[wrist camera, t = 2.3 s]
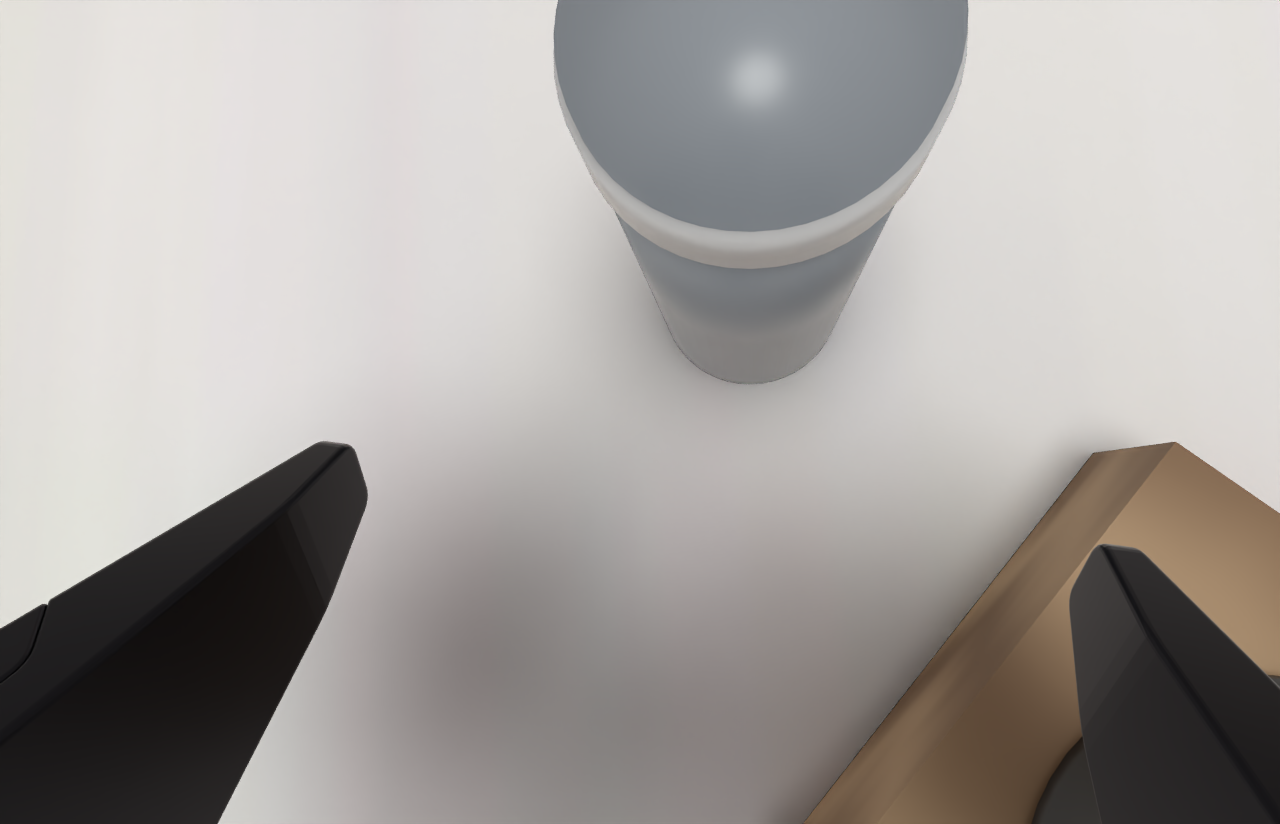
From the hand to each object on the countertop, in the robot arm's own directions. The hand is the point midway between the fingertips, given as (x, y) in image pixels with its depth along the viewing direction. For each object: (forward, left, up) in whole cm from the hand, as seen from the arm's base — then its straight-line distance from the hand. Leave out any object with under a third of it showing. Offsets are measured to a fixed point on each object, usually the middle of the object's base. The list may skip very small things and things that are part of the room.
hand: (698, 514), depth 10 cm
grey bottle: (+5, +3, -12) cm, 13 cm away
